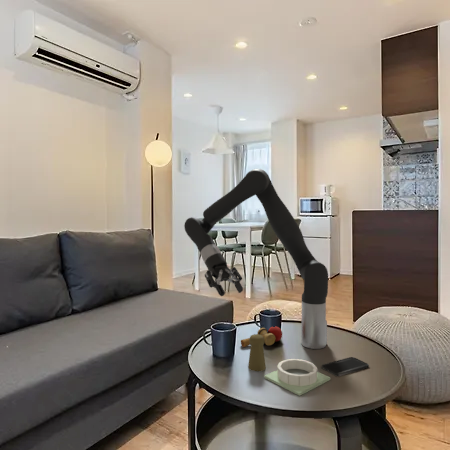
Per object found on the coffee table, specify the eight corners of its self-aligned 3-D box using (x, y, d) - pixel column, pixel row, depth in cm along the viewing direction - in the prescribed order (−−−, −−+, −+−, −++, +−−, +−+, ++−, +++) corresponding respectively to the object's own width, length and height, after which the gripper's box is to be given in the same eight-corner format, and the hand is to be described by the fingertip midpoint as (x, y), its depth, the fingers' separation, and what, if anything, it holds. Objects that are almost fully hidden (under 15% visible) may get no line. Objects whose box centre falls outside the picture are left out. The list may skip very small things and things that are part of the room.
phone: (370, 365, 119) (337, 374, 113) (370, 368, 119) (337, 377, 113) (352, 356, 126) (320, 364, 120) (352, 359, 126) (319, 368, 120)
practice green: (295, 364, 122) (295, 353, 121) (330, 379, 111) (330, 367, 111) (264, 378, 112) (264, 366, 112) (299, 395, 101) (299, 382, 101)
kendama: (249, 354, 134) (287, 340, 141) (245, 338, 134) (284, 324, 142) (240, 351, 141) (277, 337, 148) (236, 335, 141) (274, 322, 149)
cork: (267, 371, 117) (267, 338, 117) (249, 371, 117) (249, 339, 116) (264, 363, 123) (264, 332, 123) (246, 363, 123) (246, 332, 122)
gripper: (202, 253, 130) (221, 290, 122) (231, 251, 139) (251, 284, 131) (194, 266, 135) (212, 302, 126) (223, 262, 144) (242, 296, 135)
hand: (232, 293), depth 129 cm, fingers open, 8 cm apart
